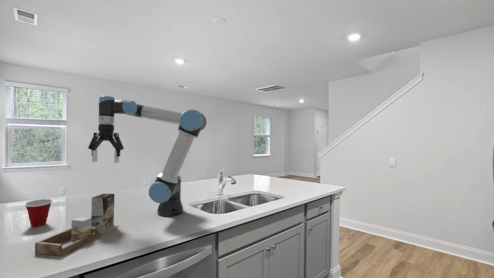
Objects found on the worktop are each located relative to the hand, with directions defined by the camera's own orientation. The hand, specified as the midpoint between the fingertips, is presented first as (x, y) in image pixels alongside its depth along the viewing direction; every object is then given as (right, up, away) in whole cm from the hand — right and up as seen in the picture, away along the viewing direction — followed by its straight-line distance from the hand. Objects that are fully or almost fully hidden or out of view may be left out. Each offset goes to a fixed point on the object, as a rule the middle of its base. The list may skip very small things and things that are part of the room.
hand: (105, 162), depth 128 cm
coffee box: (+7, -31, -14) cm, 35 cm away
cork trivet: (+7, -32, -15) cm, 36 cm away
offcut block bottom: (+5, -32, -26) cm, 41 cm away
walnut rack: (+4, -32, -31) cm, 45 cm away
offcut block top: (+5, -26, -26) cm, 37 cm away
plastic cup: (-28, -31, -10) cm, 43 cm away
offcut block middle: (+5, -29, -26) cm, 39 cm away
